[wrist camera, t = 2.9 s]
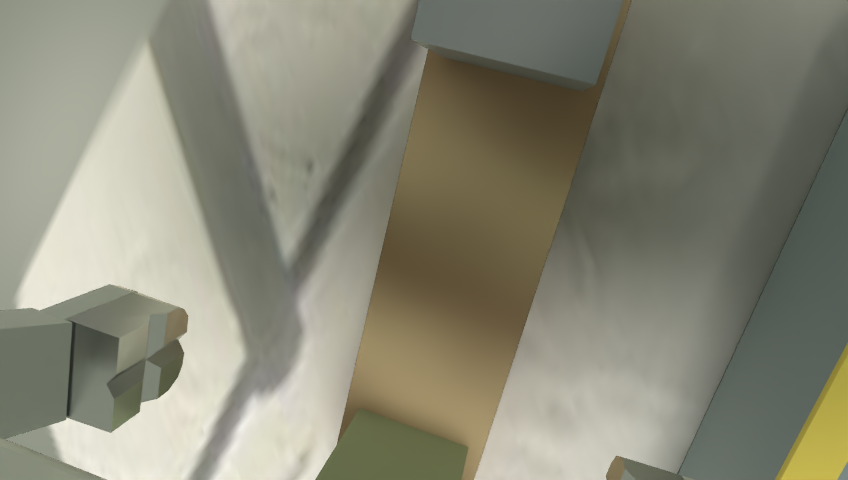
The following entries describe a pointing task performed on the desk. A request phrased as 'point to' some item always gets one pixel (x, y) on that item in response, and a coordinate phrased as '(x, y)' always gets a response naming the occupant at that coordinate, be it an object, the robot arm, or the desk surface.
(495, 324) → the pallet
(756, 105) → the desk surface
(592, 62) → the block
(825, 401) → the dock
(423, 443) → the block
